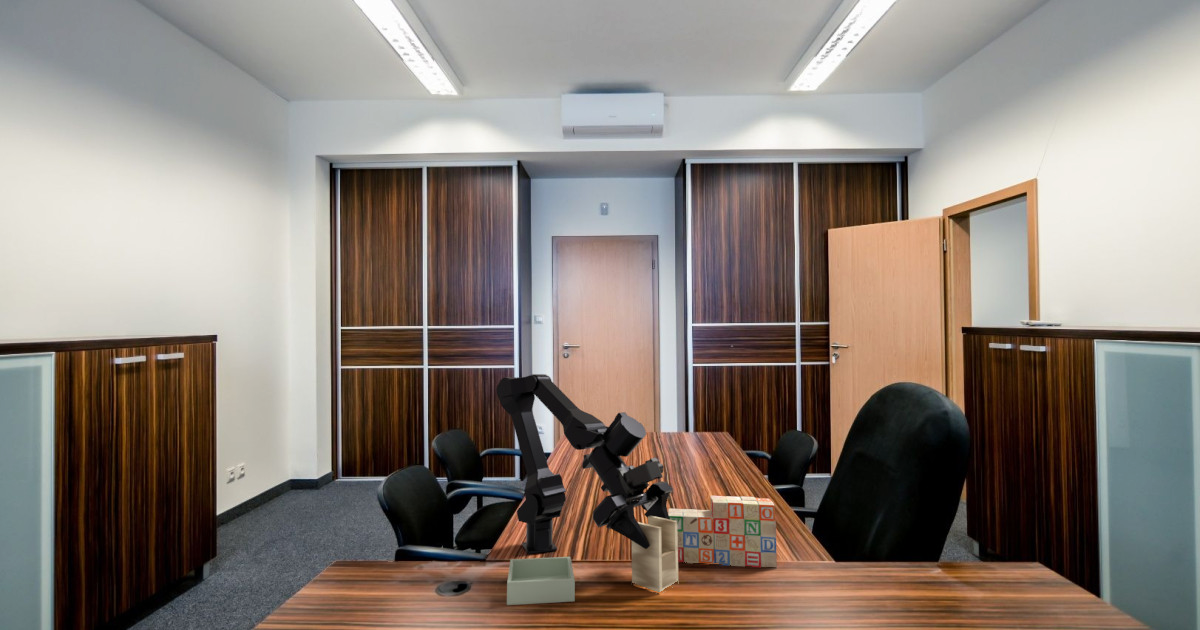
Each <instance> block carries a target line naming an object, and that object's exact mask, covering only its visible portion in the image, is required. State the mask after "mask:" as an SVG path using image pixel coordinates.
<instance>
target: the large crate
mask: <svg viewBox="0 0 1200 630" xmlns="http://www.w3.org/2000/svg"><path fill="white" fill-rule="evenodd" d="M509 560H510V561H509V567H508V575H507V582H506V606H514V605H533V604H549V603H551V604H553V603H554V604H555V603H567V602H568V603H569V602H575V600H576V599H575V598H576V597H575V596H576V595H575V592H576V591H575V589H576V588H575V587H576V584H575V583H576V582H575V581H576V579H575V574H574V568H573V563H572V559H571V556H558V557H556V556H554V557H534V558H533V557H532V558H514V559H511V558H510V559H509Z"/></svg>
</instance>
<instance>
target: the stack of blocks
mask: <svg viewBox="0 0 1200 630" xmlns="http://www.w3.org/2000/svg"><path fill="white" fill-rule="evenodd" d="M775 508H776V506H775V504H774V502H773V500H771V498H765V497H755V496H744V495H743V496H733V495H732V496H730V495H728V496H724V495H721V496H720V495H710V509H693V508H692V509H691V508H689V509H688V508H687V509H686V508H668V510H667V511H668V515H669V518H670V520H675V521H677V535H678V563H682V562H683V563H684V562H685V563H684V564H693V563H719V564H723V565H722V566H727V567H728V566H730V565H731V566H732V567H733V566H735V567H745V566H752V567H751V568H761V567H777V568H778V560H777V558H778V557H777V521H776V509H775ZM686 562H687V563H686Z"/></svg>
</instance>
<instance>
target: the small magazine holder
mask: <svg viewBox="0 0 1200 630" xmlns="http://www.w3.org/2000/svg"><path fill="white" fill-rule="evenodd" d="M637 522H638V524H639V525H640V527H641V529H642V531H643V532H644V534H645V536H646V538H647V540H648V542H649V544H650V546H649V547H648V548H647V549H645V548H643V547H641V546H640V545H638V544H637V543H635V542H633V541H632V540H631V584H632V583H635V584H637V585H640V586H643V587H646V588H648V589H651V590H654V591H657V592H661V591H663V590H664V589H665V588H667V587H669V586H671V585H672V584H674V583H675V582H677V581H678V582H679V562H678V535H677V521H675V520H670V519H665V518H660V517H655V516H648V518H647V523H643V522H639V521H637Z"/></svg>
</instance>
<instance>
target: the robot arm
mask: <svg viewBox="0 0 1200 630" xmlns="http://www.w3.org/2000/svg"><path fill="white" fill-rule="evenodd" d="M496 395H497V399H498V401H499V403H500V405H501V407H502V408H503V409H504V410H505V412H507V414H508V415H510V417H511V421H512V424H513V427H514V431H515V434H516V439H517V442H518V446H519V449H520V452H521V457H522V461H523V464H524V468H525V472H526V475H527V479H526V481H525V482H526V483H525V485H524V486H525V487H524V497H525V499H524V501H523V502H522V504H520V506H519V507H518V509H517V510H516V515H517V521H519V522H522V523H525V524H526V532H525V533H526V537H525V539H526V541H525V542H521V546H522V548H523V549H524V550H525V552H526V553H527V554H536V553H546V552H553V551H554V552H555V551H558V548H557V546H556V545H555V544H554V542H553V520H554V519H555V518H560V517H561V515H562V512H563V511H562V510H563V508H564V506H565V502H566V499H567V498H566V492H567V490H566V488H565V486H564V483H563V478H562V477H563V476H562V475H561V474H560V473H558V474H557V473H556V474H554V473H553V472H552V471H551V470H550V468H549V464H548V461H547V458H546V454H545V451H544V447H543V444H542V440H541V437H540V433H539V430H538V427H537V424H536V420H535V416H534V412H533V407H534V403H535V401H536V400H535V399H536V398H537V399H539V401H540V402H541V403H542V404H543V406H545V408H546V409H547V410H549V413H551V414H552V415H553V416H554V417H555V418H556V419H557V420H558V422H559V423H560V424H561V426H562V428H563V429H562V430H563V434H564V436H565V437H566V439H567V440H568V443H569V444H570V445H571V446H572V448H574V449H575V450H576V451H580V450H588V449H592V450H591V452H590V453H588V454H584V455H583V461H582V465H581V467H582V469H583V470H587V469H590V468H593V470H594V471H595V473H596V474H597V476H598V477H599V479H600V481H601V482H602V483H603V484H602V485H601V486H600V489H601V491H602V492H608V493H609V494H610V495H605V497H604V498H603V499H602V500H601V502H600V503H598V505H597V506H596V507H595V509H594V510H593V511H592V520H593V521H594V523H595V525H596V526H597V527H598V528H602V527H604V526H605V528H606V529H607V530H610V529H611V530H612V531H615V532H616V533H618V534H619V535H622V536H623V537H625V538H627V539H629V540H630V541H631V542H632V541H633V542H635V543H637V544H638V545H640V546H641V547H643V548H645V549H647V548H648V547H649V546H650V544H649V542H648V540H647V538H646V536H645V534H644V532H643V531H642V529H641V527H640V525H639V524H638V522H639V521H637V519H636V517H635V509H634V508H637V507H642V509H643V510H645V511H646V512H644V514H643V515H644V516H645V517H646V518H647V519H648V516H655V517H660V518H665V519H670V518H669V515H668V511H669V510H668V508H667V506H668V505H667V504H668V499H669V498H670V495H671V494H672V493H673V491H674V490H673V488H672V487H671V485H670V484H669V483H668V481H663V480H662V481H657V482H655V483H652V484H651V485H650V484H649V483H650V482H652V481H654V480H659V479H662V478H664V476H663V473H664V465H663V464H662V463H661V462H660V460H659V459H658V458H657V457H651V458H650V459H647V460H645V463H643V464H640V465H637V466H634V465H627V464H626V462H625V461H624V460H623V458H622V457H626V458H627V457H629V456H630V454H632V453H633V451H634V450H635V449H636V447H637V446H639V444H640V443H641V442H642V441H643V439H645V437H646V435H647V431H646V428H645V427H644V425H643V424H642V422H639V421H638V420H637V419H635V418H634V417H631V416H629V415H628V414H627V413H626V412H625V411H624V412H618V413H617V414H616V415H615V416H614V419H613V420H612V422H611V423H610V425H608V426H606V424H605V423H604V421H602V420H600V419H598V418H597V417H596V416H595V415H593V414H591V413H588V412H586V411H583V410H581V409H580V408H579V407H578V406H577V405H576V404H575V403H574V402H573V401H572V400H571V399H570V398H569V397H568V396H567V395H566V394H565V393H564V392H563V391H562V390H561V389H560V388H559V387H558V386H557V385H556V384H555V382H553V381H552V378H551V377H550V375H548V374H543V373H541V374H537V373H535V374H534V373H532V374H530V375H527V376H524V377H523V376H521V377H518V376H517V377H506V376H505V377H503V378H501V379H500V381H499V383H498V384H497V386H496ZM647 488H648V489H647ZM645 490H646V491H645Z"/></svg>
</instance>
